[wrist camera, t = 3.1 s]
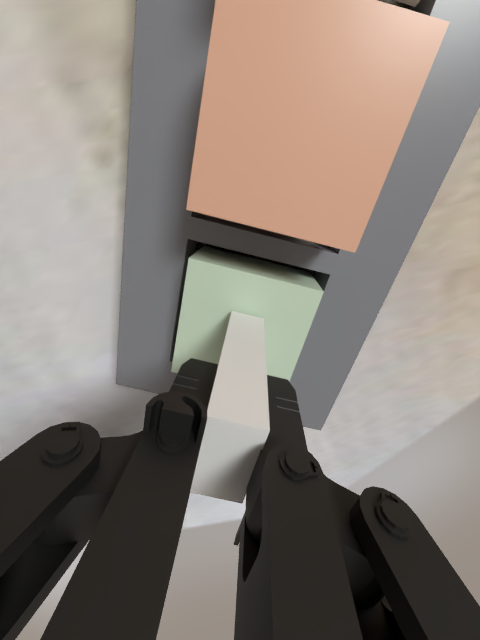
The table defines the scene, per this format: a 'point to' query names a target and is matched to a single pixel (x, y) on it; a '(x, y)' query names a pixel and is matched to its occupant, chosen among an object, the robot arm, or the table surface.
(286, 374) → the key
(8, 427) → the table surface
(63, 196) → the table surface
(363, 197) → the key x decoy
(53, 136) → the table surface
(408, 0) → the cream square block
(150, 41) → the keypad board
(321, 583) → the robot arm
